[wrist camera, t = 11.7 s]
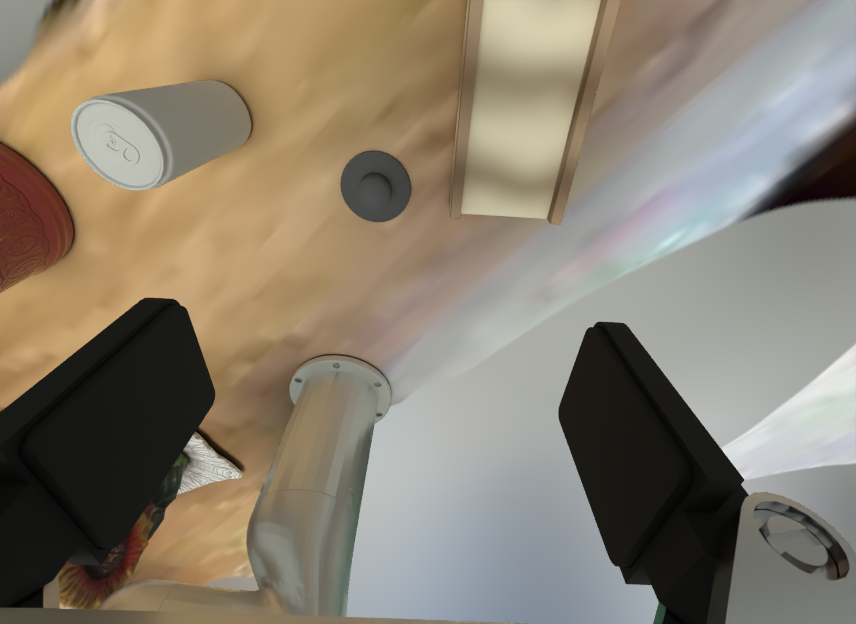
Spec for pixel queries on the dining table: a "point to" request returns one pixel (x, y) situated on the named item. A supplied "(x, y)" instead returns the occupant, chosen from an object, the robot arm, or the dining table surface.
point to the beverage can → (159, 131)
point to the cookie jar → (142, 528)
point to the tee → (375, 186)
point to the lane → (525, 103)
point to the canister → (29, 221)
